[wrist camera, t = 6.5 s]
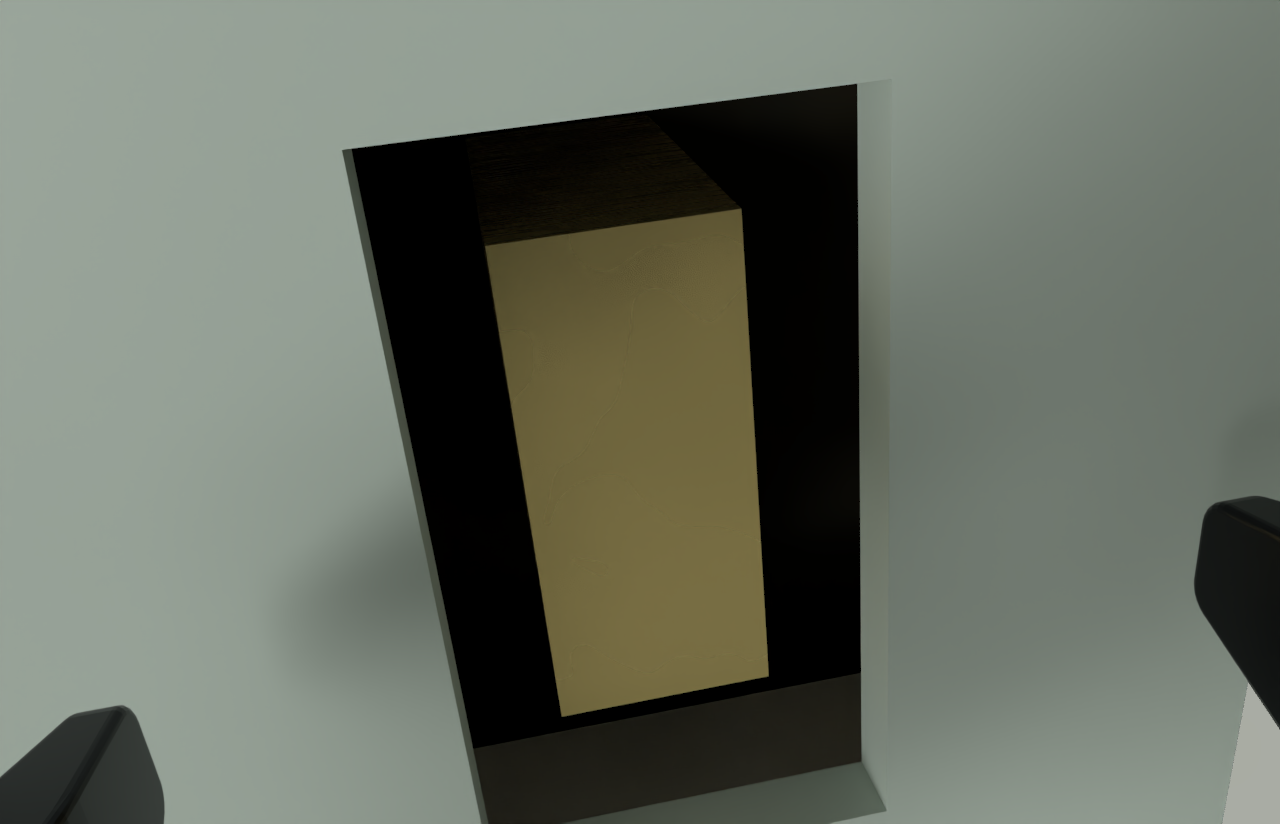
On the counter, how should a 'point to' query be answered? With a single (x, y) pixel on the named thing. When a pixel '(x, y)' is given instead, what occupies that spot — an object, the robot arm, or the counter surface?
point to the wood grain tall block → (627, 405)
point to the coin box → (888, 402)
